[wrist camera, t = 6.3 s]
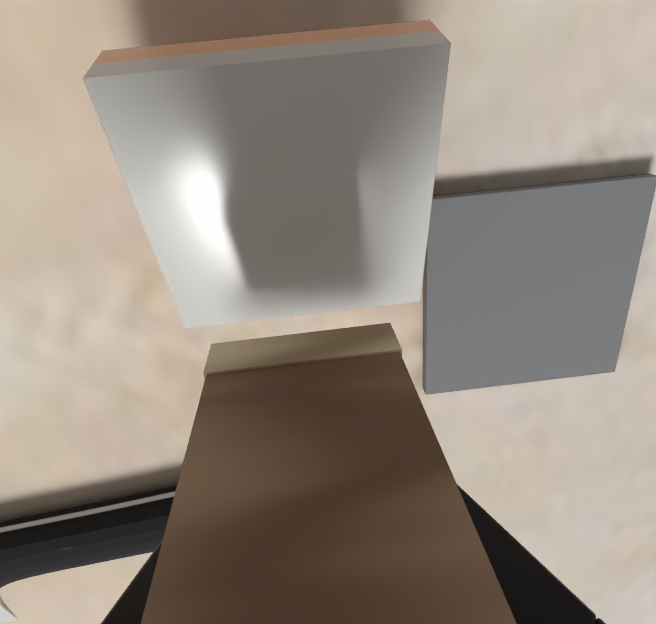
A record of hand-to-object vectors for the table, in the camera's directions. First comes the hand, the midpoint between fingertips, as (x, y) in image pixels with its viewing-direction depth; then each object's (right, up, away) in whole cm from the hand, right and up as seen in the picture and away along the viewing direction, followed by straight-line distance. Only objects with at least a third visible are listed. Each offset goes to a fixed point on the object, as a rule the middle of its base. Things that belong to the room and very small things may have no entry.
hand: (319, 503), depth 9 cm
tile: (-1, +4, +6) cm, 7 cm away
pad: (+7, +4, +7) cm, 11 cm away
